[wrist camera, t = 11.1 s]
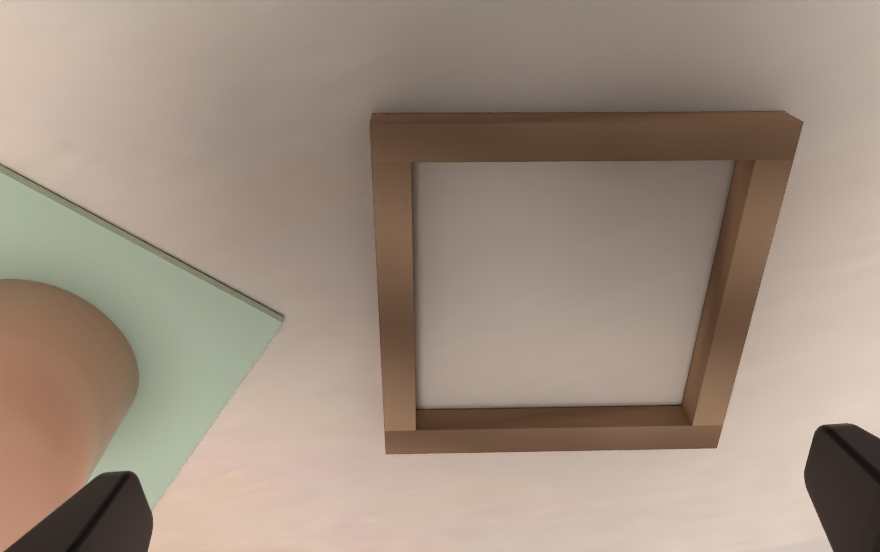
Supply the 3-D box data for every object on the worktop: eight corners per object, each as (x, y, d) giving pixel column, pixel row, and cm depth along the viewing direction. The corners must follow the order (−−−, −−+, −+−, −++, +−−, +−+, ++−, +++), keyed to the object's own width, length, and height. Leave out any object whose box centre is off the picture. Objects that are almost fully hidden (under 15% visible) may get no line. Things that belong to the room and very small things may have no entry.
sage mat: (-94, 114, 17) (-102, 117, 17) (284, 317, 21) (282, 322, 20) (-188, 395, 21) (-196, 401, 21) (139, 526, 25) (136, 533, 24)
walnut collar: (372, 113, 18) (369, 124, 17) (784, 111, 18) (803, 121, 17) (387, 433, 23) (385, 454, 22) (705, 427, 23) (716, 448, 22)
